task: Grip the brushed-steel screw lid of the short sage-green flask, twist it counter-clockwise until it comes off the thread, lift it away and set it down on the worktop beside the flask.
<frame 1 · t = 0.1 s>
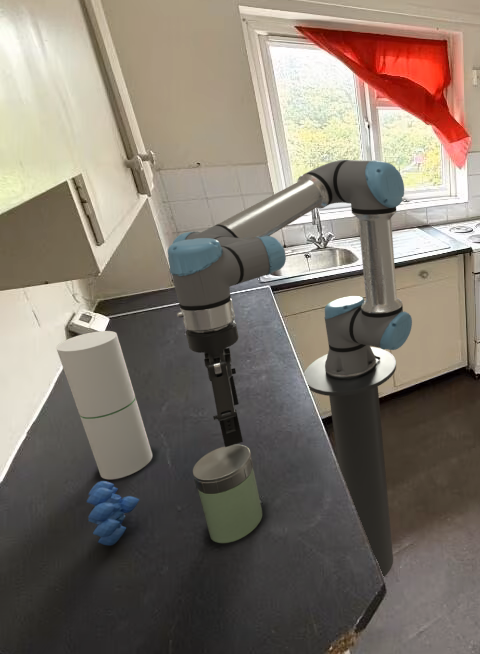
hand: (232, 423, 83), 15 cm above the counter, tool pointing down, fingers open, 13 cm apart
flask: (236, 522, 79), on the counter
flask lid: (223, 463, 75), point 14 cm above the counter, screwed on, not yet turned
container: (127, 464, 92), on the counter
grapes: (123, 536, 76), on the counter
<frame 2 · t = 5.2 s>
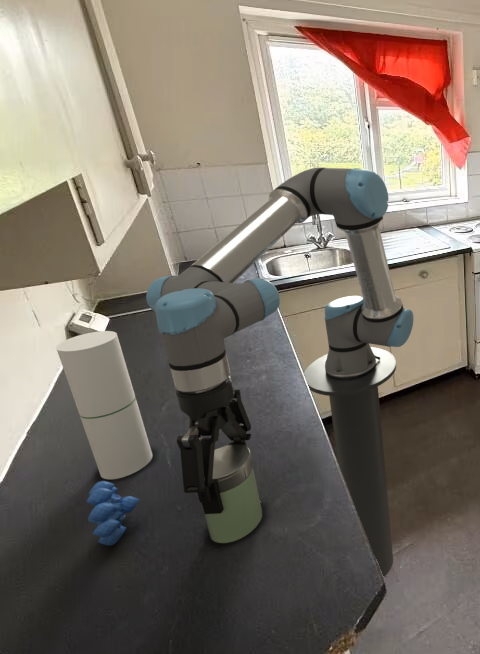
hand: (229, 490, 76), 8 cm above the counter, tool pointing down, fingers closed on flask lid, 8 cm apart
flask lid: (223, 463, 75), point 14 cm above the counter, screwed on, not yet turned, touching gripper
everything else where it was.
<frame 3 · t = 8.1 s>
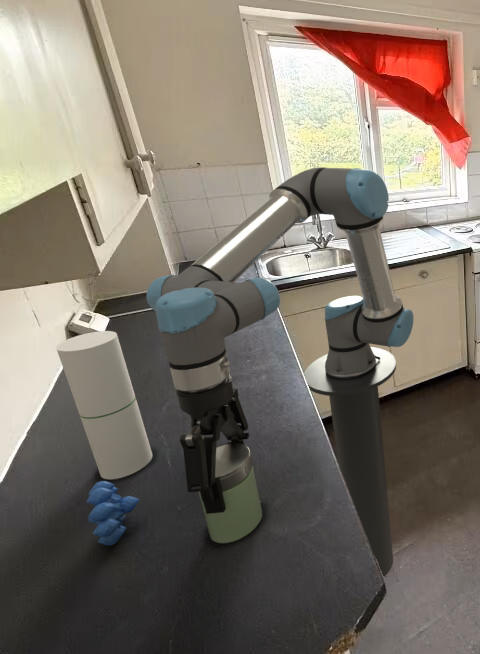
hand: (229, 489, 76), 8 cm above the counter, tool pointing down, fingers closed on flask lid, 8 cm apart
flask lid: (222, 462, 75), point 14 cm above the counter, turned 185° so far, risen 0.2 cm, still on its thread, touching gripper
everything else where it was.
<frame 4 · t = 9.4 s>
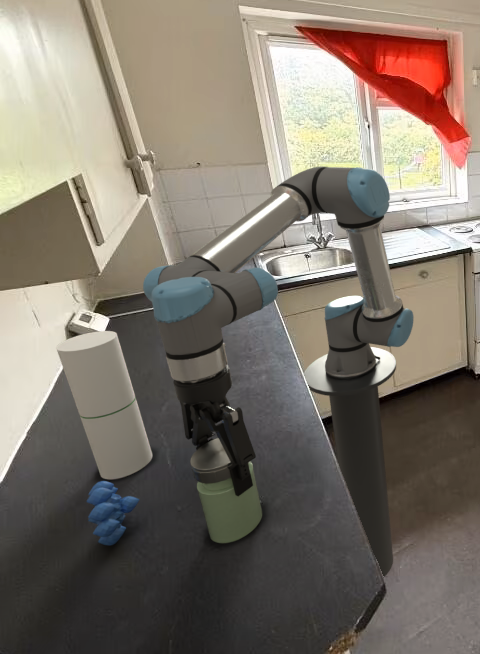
hand: (228, 480, 76), 10 cm above the counter, tool pointing down, fingers closed on flask lid, 8 cm apart
flask: (236, 522, 79), on the counter, touching gripper
flask lid: (220, 453, 74), point 16 cm above the counter, off its thread, touching gripper
everything else where it was.
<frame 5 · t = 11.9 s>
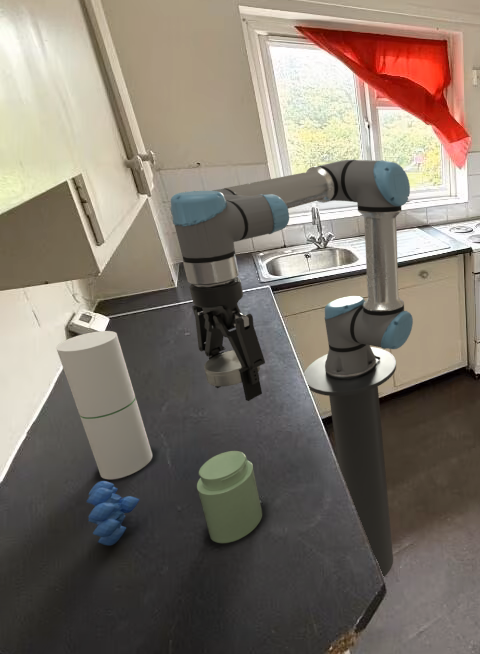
hand: (238, 390, 82), 22 cm above the counter, tool pointing down, fingers closed on flask lid, 8 cm apart
flask: (236, 522, 79), on the counter
flask lid: (232, 362, 80), point 28 cm above the counter, off its thread, touching gripper
everything else where it was.
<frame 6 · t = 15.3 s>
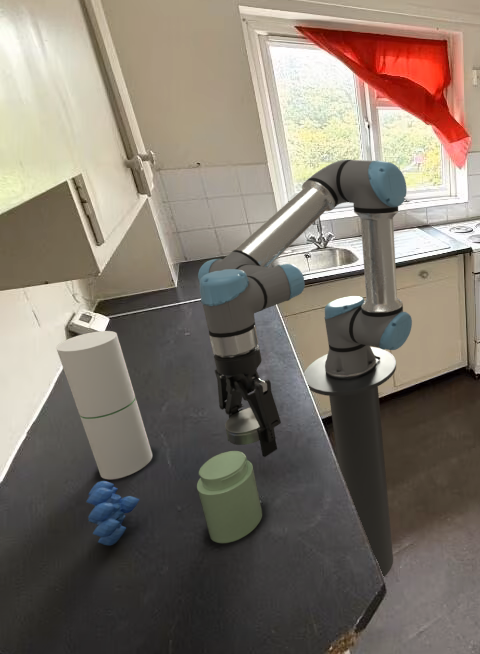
hand: (255, 445, 89), 7 cm above the counter, tool pointing down, fingers closed on flask lid, 8 cm apart
flask lid: (250, 421, 87), point 13 cm above the counter, off its thread, touching gripper
everything else where it was.
when the fingers open (0 cm above the counter, at t = 18.4 s): flask lid drops 3 cm, point 2 cm above the counter.
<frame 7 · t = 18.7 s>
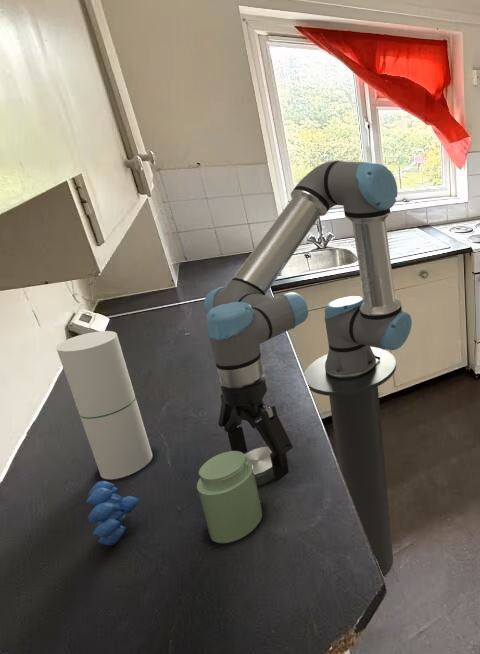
hand: (260, 465, 91), 1 cm above the counter, tool pointing down, fingers open, 13 cm apart
flask lid: (258, 462, 90), point 2 cm above the counter, off its thread
everything else where it was.
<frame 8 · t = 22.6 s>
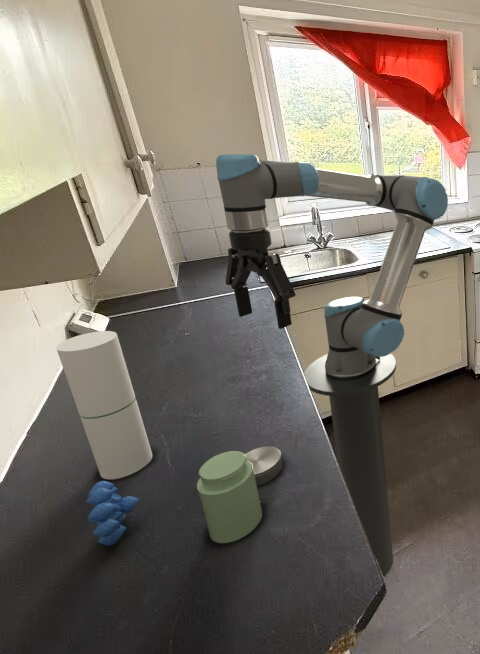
hand: (265, 320, 96), 29 cm above the counter, tool pointing down, fingers open, 13 cm apart
nothing on the counter moved.
at the end: flask lid inside the target area (0.1 cm from its centre), point 2.4 cm above the counter; flask lid moved 17.1 cm from its start; flask tilted 0° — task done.
